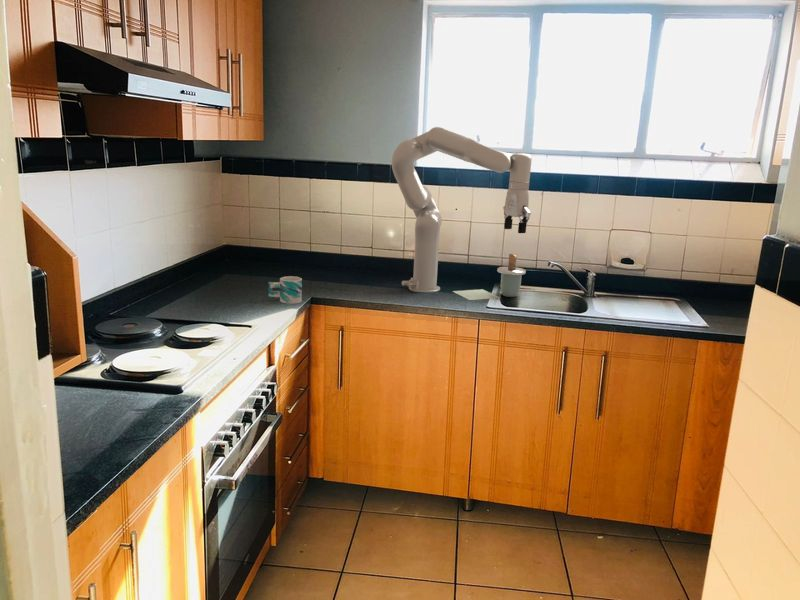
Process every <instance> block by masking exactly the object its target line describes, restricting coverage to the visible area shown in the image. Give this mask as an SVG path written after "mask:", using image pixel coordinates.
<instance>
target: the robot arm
mask: <svg viewBox="0 0 800 600" xmlns="http://www.w3.org/2000/svg"><path fill="white" fill-rule="evenodd" d="M435 152H440V153H442V154H445V155H448V156H451V157H453V158H456V159H459V160H462V161H464V162H467V163H470V164H474V165H476V166H479V167H481V168H484V169H486V170H489V171H493V172H495V173H497V174H503V173H506V172H509V182H508V189H507V192H506V196H505V202H504V206H503V207H502V208H503V209H502V210H503V215H504V226H503V227H504V230H513V217H514V218H517V217H518V220H519V222H518V227H517V234H526V233H527V224H528V223H529V220H530V217H531V214H532V213H531V211H530V209H529V204H530V202H529V198H530V195H529V189H530V188H529V187H530V178H531V169H532V168H531V167H532V155H531V154H530V153H523V152H522V153H520V152H519V153H511V152H510V153H509V152H505V151H500V150H497V149H494V148H491V147H489V146H486V145H483V144H481V143H479V142H477V141H476V140H474V139H472V138H471V137H467V136H464V135H461V134H459V133H456V132H454V131H450V130H447V129H445V128H443V127H439V126H435V127H432V128H430V129H429V130H428V131H426V132H424V133H421V134H420V135H418V136H415V137H412V138H410V139H406V140H403V141H401V142H400V143H399V144H398V145H397V146H396V149H394V151H393V153H392V157H391V169H392V172H393V176H394V179H395V181H396V182H397V185H398V187H399V190H400V192H401V194H402V196H403V199H404V201H405V205H407V207H408V208H409V209H410V210H412V211H413V213H414V216H415V217H416V221H415V223H414V253H413V254H414V256H413V257H414V258H413V259H414V260H413V277H410V279H409V280H402V281H401V285H402V287H403V286H404V287H405V286H407V287H408V289H409V290H410V291H411V292H415V293H418V294H419V293H436V292H439V291H440V290H441V287H440V286H438V285H437V283H438V282H437V281H438V268H439V267H438V265H439V250H440V229H441V226H442V223H443V220H442V215H441V213H440V210H439V208H438V207H437V204H436V202H435V200H434V197H433V195H432V193H431V192H430V189H428V187H426V186H425V185H423V184H422V182H421V179H420V177H419V174H418V172H417V170H416V169H415V165H414V163H415V161H418V160H421V159H423V158H424V157H427V156H429V155H432V154H434V153H435Z"/></svg>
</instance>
